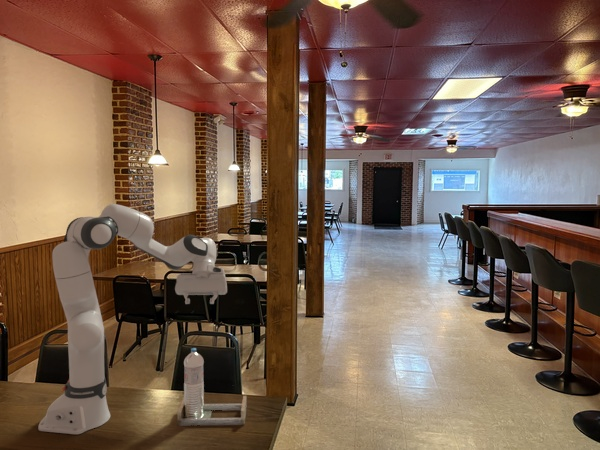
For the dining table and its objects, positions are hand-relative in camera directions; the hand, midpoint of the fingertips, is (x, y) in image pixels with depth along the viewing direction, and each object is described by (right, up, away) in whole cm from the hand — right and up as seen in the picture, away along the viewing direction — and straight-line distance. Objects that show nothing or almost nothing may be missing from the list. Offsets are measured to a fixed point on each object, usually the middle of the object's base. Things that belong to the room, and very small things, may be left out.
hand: (199, 303), depth 174 cm
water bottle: (+1, -39, -13) cm, 41 cm away
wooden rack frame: (+8, -39, -13) cm, 41 cm away
